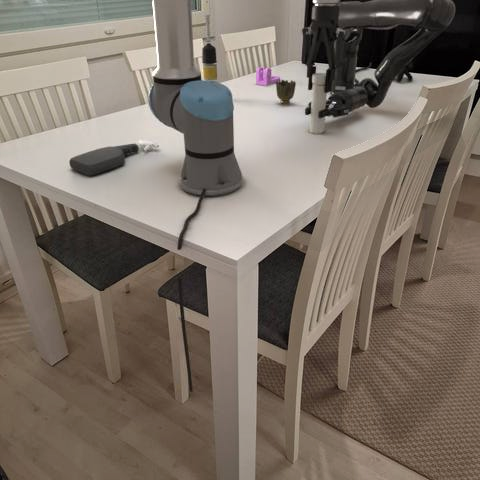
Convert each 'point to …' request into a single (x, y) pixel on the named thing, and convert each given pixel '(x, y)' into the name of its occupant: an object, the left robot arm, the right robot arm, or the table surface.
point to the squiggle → (405, 72)
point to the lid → (318, 78)
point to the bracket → (265, 77)
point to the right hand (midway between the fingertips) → (312, 113)
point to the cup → (285, 91)
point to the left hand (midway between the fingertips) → (319, 90)
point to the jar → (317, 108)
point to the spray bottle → (106, 157)
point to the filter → (209, 57)
